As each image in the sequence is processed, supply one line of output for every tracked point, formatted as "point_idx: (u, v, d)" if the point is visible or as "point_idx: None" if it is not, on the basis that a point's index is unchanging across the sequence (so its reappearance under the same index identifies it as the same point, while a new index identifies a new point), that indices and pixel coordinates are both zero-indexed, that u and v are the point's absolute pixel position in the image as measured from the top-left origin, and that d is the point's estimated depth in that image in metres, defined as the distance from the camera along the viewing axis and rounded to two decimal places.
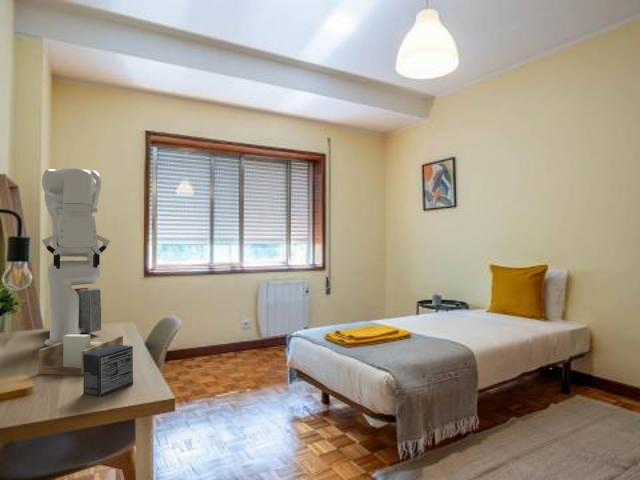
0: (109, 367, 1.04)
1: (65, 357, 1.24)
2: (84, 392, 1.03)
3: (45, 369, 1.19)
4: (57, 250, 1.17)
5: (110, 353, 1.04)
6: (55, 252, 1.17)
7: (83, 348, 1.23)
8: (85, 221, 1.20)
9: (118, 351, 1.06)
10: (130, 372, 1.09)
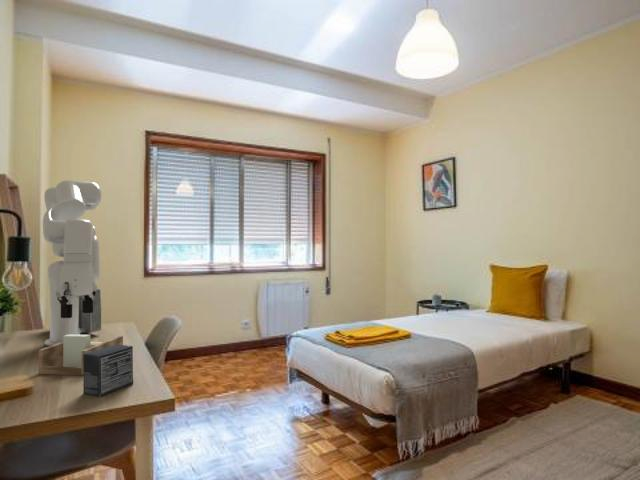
0: (109, 367, 1.04)
1: (65, 357, 1.24)
2: (84, 392, 1.03)
3: (45, 369, 1.19)
4: (70, 299, 1.19)
5: (110, 353, 1.04)
6: (68, 302, 1.19)
7: (83, 348, 1.23)
8: (89, 269, 1.26)
9: (118, 351, 1.06)
10: (130, 372, 1.09)
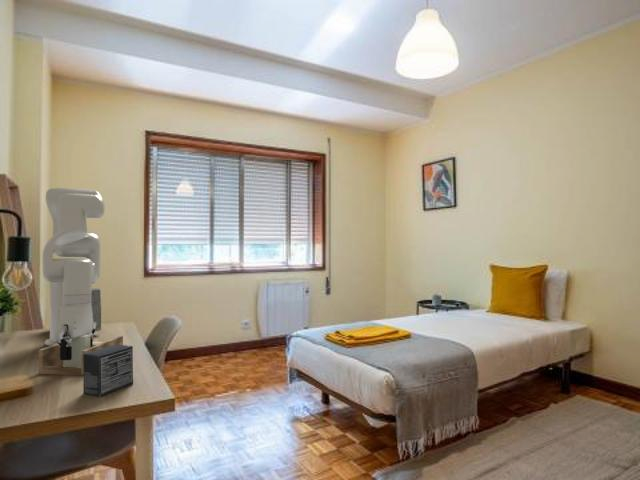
0: (109, 367, 1.04)
1: None
2: (84, 392, 1.03)
3: (45, 369, 1.19)
4: (69, 342, 1.20)
5: (110, 353, 1.04)
6: (68, 344, 1.19)
7: (83, 348, 1.23)
8: (88, 309, 1.26)
9: (118, 351, 1.06)
10: (130, 372, 1.09)
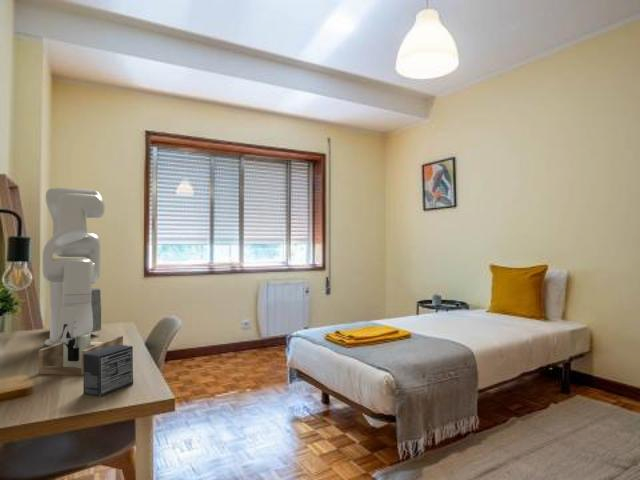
0: (109, 367, 1.03)
1: (65, 357, 1.24)
2: (84, 392, 1.03)
3: (45, 369, 1.19)
4: (76, 343, 1.22)
5: (110, 353, 1.04)
6: (75, 346, 1.22)
7: (83, 348, 1.23)
8: (88, 309, 1.26)
9: (118, 351, 1.06)
10: (130, 372, 1.09)
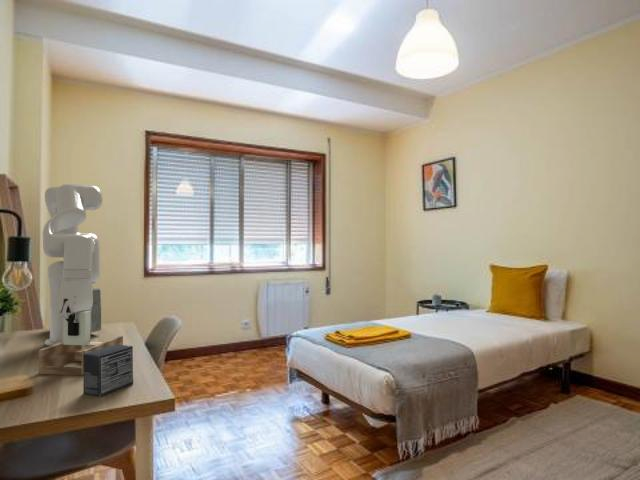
0: (109, 367, 1.03)
1: (65, 333, 1.24)
2: (84, 392, 1.03)
3: (45, 369, 1.19)
4: (76, 318, 1.23)
5: (110, 353, 1.04)
6: (75, 320, 1.23)
7: (83, 324, 1.24)
8: (88, 284, 1.27)
9: (118, 351, 1.06)
10: (130, 372, 1.09)
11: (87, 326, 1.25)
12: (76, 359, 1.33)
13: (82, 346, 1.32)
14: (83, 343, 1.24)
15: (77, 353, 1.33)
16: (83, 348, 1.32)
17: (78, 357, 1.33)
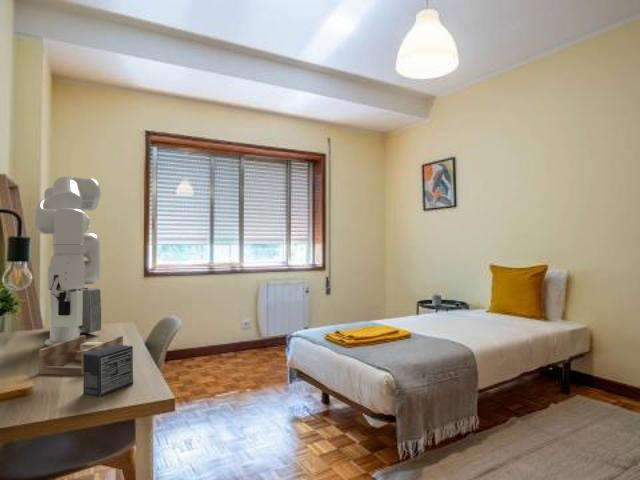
0: (109, 367, 1.04)
1: (55, 314, 1.17)
2: (84, 392, 1.03)
3: (45, 369, 1.19)
4: (67, 296, 1.15)
5: (110, 353, 1.04)
6: (66, 299, 1.15)
7: (75, 304, 1.17)
8: (80, 261, 1.20)
9: (118, 351, 1.06)
10: (130, 372, 1.09)
11: (79, 307, 1.17)
12: (77, 359, 1.33)
13: (81, 346, 1.32)
14: (75, 324, 1.16)
15: (78, 353, 1.33)
16: (82, 348, 1.32)
17: (79, 357, 1.33)
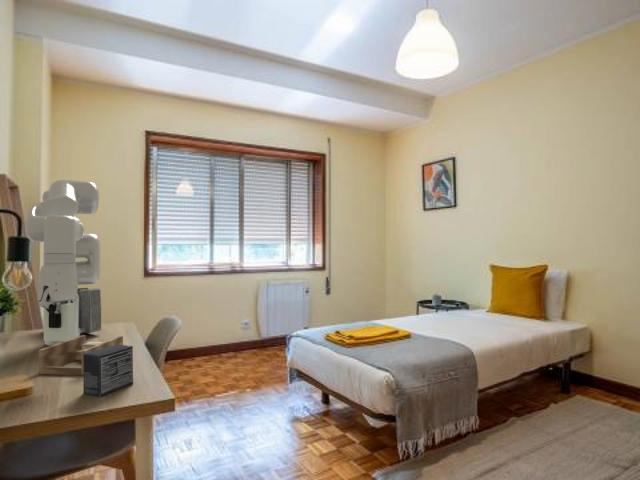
0: (109, 367, 1.04)
1: (46, 328, 1.11)
2: (84, 392, 1.03)
3: (45, 369, 1.19)
4: (57, 308, 1.10)
5: (110, 353, 1.04)
6: (57, 311, 1.10)
7: (66, 317, 1.11)
8: (72, 271, 1.14)
9: (118, 351, 1.06)
10: (130, 372, 1.09)
11: (70, 320, 1.12)
12: (77, 359, 1.33)
13: (83, 346, 1.33)
14: (66, 339, 1.11)
15: (78, 353, 1.33)
16: (84, 348, 1.33)
17: (79, 357, 1.33)
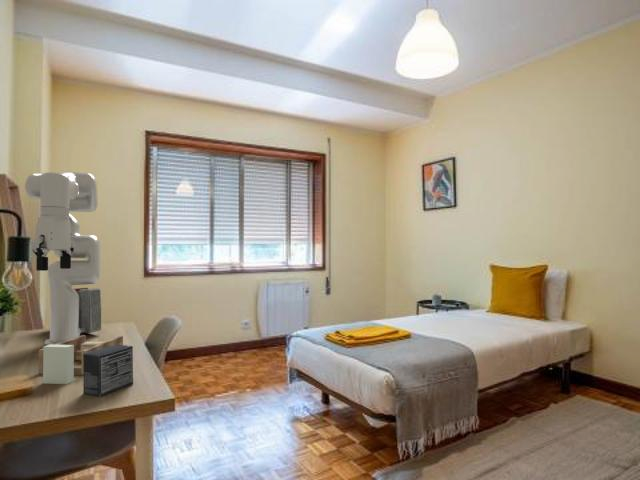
0: (109, 367, 1.03)
1: (45, 370, 1.11)
2: (84, 392, 1.03)
3: None
4: (46, 252, 1.19)
5: (110, 353, 1.04)
6: (44, 254, 1.18)
7: (65, 360, 1.10)
8: (66, 224, 1.26)
9: (118, 351, 1.06)
10: (130, 372, 1.09)
11: (70, 362, 1.11)
12: (77, 359, 1.33)
13: (81, 346, 1.32)
14: (65, 381, 1.10)
15: (78, 353, 1.33)
16: (83, 348, 1.32)
17: (79, 357, 1.33)
